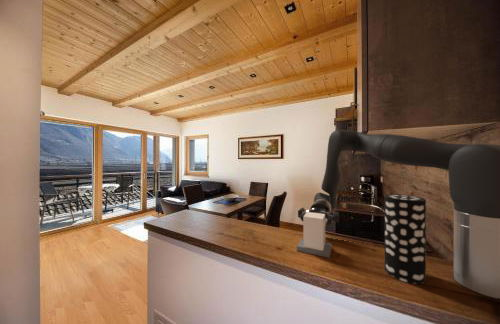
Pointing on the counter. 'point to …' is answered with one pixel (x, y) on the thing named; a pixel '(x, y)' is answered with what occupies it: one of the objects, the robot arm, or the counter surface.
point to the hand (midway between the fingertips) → (315, 220)
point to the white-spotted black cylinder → (405, 238)
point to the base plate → (324, 253)
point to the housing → (314, 230)
